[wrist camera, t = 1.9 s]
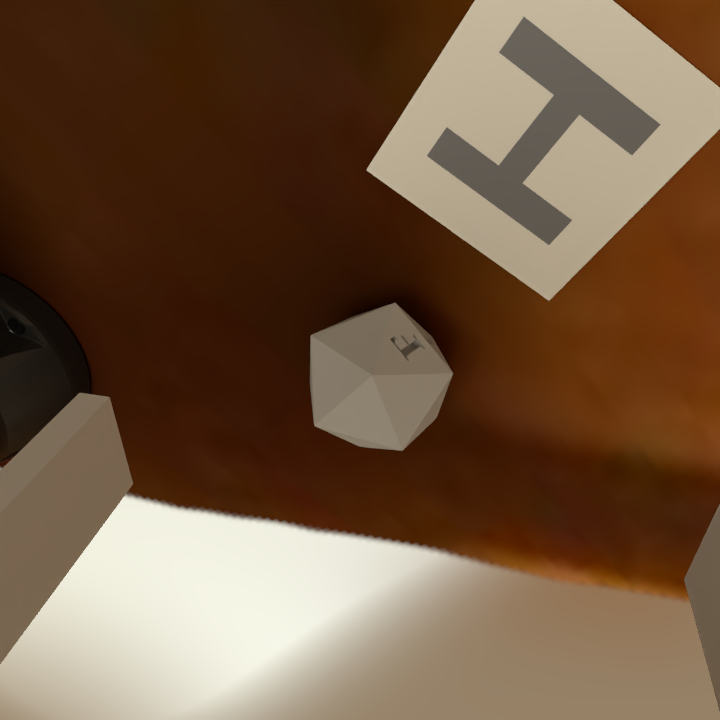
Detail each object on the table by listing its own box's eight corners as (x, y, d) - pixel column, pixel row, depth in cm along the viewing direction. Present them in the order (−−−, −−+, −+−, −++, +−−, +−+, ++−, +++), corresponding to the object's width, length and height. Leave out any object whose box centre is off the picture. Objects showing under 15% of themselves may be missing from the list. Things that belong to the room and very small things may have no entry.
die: (469, 388, 42) (489, 385, 32) (367, 470, 42) (356, 491, 32) (391, 293, 43) (387, 261, 33) (292, 373, 43) (257, 365, 33)
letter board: (548, 296, 36) (548, 301, 36) (368, 167, 34) (366, 170, 34) (738, 103, 29) (742, 106, 28) (522, -73, 27) (522, -74, 27)
